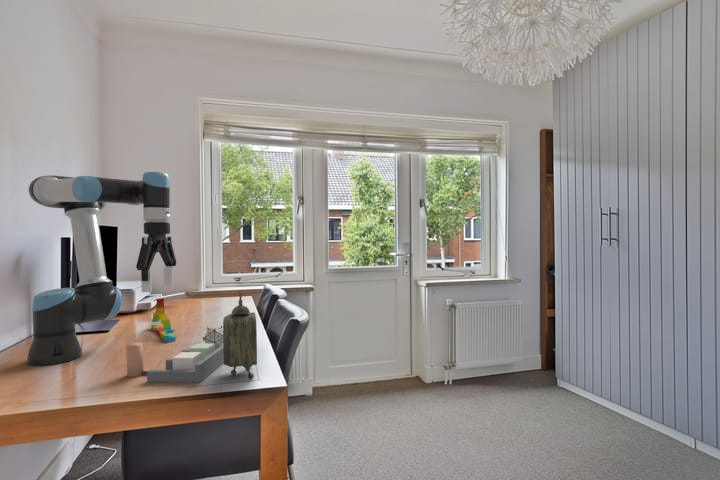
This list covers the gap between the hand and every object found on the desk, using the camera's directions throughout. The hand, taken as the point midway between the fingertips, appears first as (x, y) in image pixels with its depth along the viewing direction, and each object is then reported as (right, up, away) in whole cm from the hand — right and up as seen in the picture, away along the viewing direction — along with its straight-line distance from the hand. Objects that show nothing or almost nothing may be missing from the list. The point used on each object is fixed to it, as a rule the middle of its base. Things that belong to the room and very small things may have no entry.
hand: (158, 288), depth 134 cm
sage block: (+13, -25, +2) cm, 28 cm away
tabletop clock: (+28, -25, -8) cm, 38 cm away
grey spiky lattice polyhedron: (+11, -24, +20) cm, 34 cm away
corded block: (+5, -25, -8) cm, 26 cm away
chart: (-19, -25, +44) cm, 53 cm away
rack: (+11, -25, -3) cm, 27 cm away
